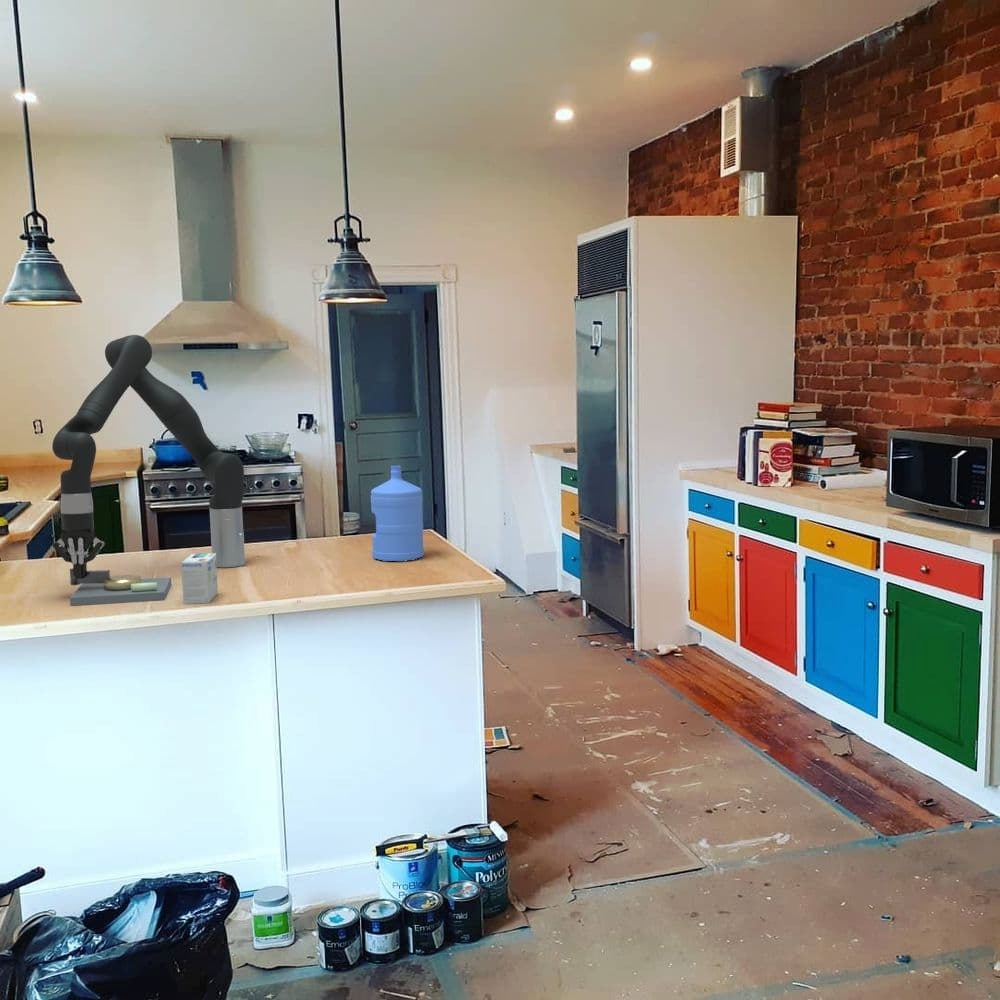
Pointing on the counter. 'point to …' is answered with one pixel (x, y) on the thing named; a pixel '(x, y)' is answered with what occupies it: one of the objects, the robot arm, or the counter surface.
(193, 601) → the light bulb box
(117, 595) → the instrument base
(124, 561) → the counter surface
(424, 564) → the counter surface
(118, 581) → the tan disc with handle
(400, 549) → the water jug
